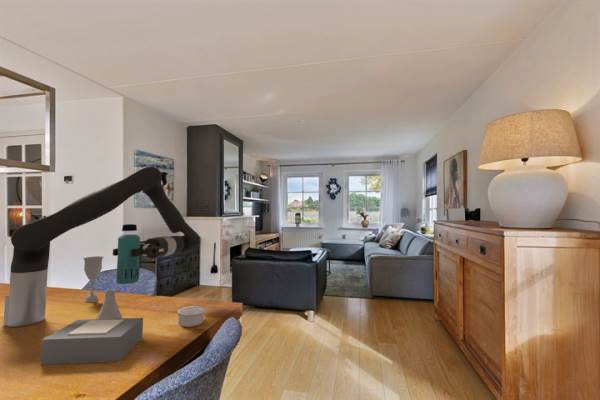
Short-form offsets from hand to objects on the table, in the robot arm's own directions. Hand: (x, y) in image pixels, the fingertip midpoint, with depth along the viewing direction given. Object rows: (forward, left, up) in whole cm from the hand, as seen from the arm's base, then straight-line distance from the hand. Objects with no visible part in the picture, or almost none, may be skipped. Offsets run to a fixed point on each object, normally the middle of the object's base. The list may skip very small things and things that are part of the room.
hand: (122, 252), depth 88 cm
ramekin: (+20, +7, -25) cm, 33 cm away
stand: (0, -11, -25) cm, 27 cm away
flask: (-9, +12, -25) cm, 29 cm away
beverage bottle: (+1, +2, -11) cm, 11 cm away
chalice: (-28, +35, -25) cm, 51 cm away
